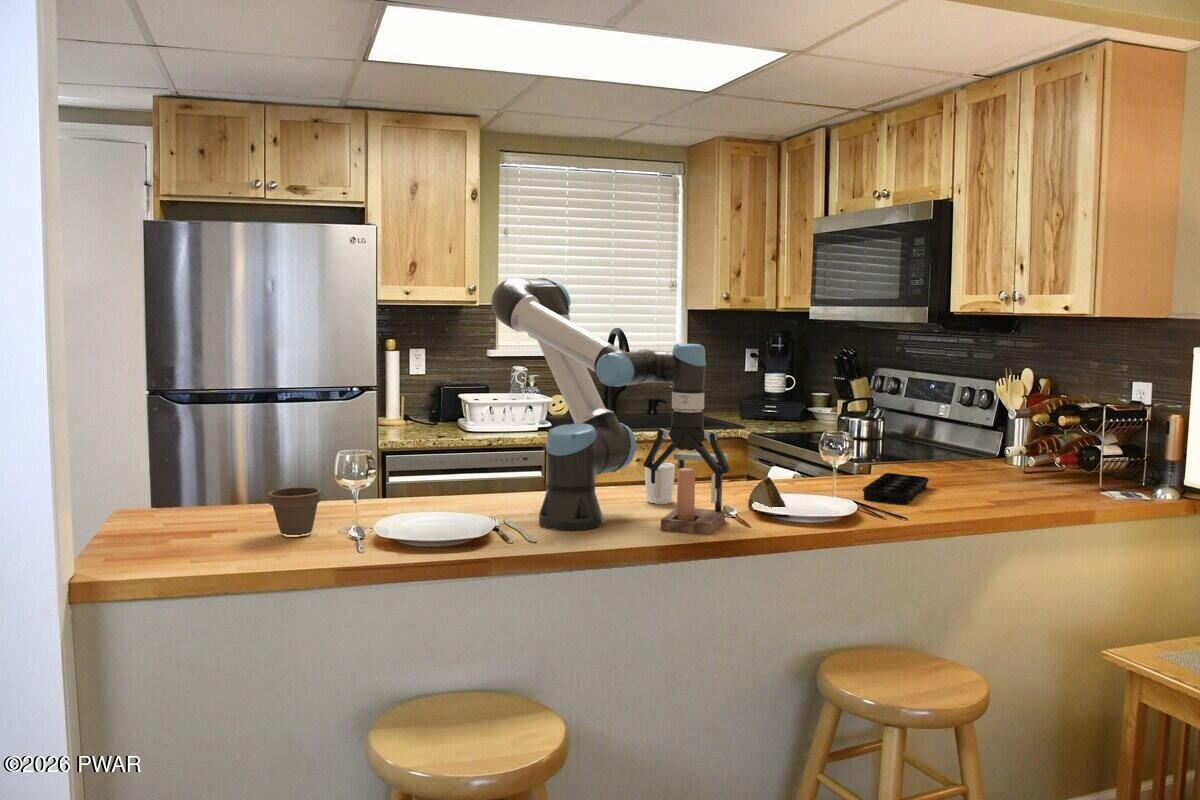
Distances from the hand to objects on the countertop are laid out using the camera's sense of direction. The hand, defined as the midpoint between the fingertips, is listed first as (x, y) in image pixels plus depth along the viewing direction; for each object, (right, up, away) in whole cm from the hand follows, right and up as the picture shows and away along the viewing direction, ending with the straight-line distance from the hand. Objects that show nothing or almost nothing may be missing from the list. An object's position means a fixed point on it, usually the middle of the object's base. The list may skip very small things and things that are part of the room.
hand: (685, 499), depth 235 cm
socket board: (+2, -6, +4) cm, 8 cm away
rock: (+22, -5, +19) cm, 30 cm away
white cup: (-4, -4, +30) cm, 31 cm away
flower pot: (-89, -7, -9) cm, 90 cm away
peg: (0, -7, +1) cm, 7 cm away
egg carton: (+63, -3, +44) cm, 76 cm away
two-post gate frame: (+4, -3, +9) cm, 10 cm away
